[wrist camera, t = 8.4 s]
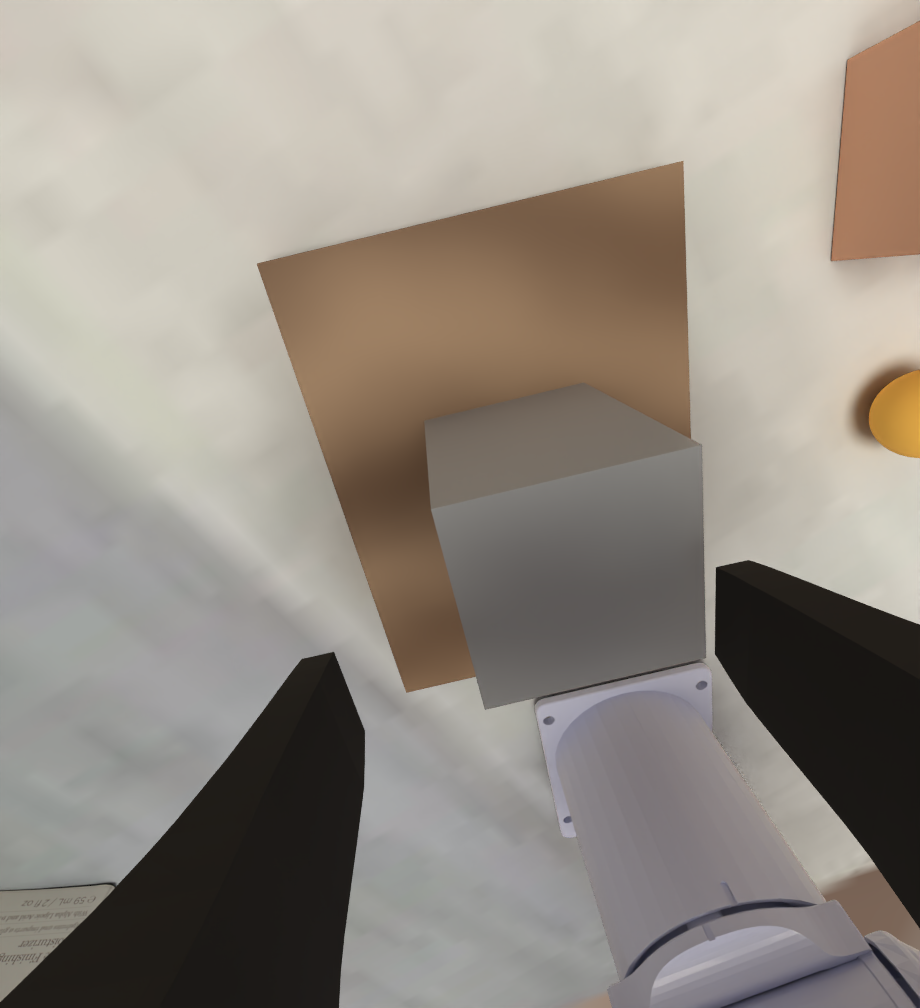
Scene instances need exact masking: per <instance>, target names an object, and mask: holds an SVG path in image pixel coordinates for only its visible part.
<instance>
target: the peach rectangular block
mask: <svg viewBox="0 0 920 1008" xmlns="http://www.w3.org/2000/svg"><path fill="white" fill-rule="evenodd" d="M916 254H920V21H919V22H917V23H915V24H913V25H911V26H909V27H907V28H906V29H904V30H902V31H900V32H898V33H896V34H894V35H893V36H891V37H889V38H887V39H885V40H883V41H881V42H880V43H878V44H876V45H874V46H872V47H870V48H868V49H867V50H865V51H863V52H861V53H859V54H857V55H855V56H854V57H852V58H850V59H848V61H847V73H846V86H845V98H844V110H843V123H842V135H841V147H840V159H839V172H838V184H837V196H836V208H835V221H834V233H833V245H832V257H831V261H837V260H850V259H863V258H876V257H889V256H903V255H916Z"/></svg>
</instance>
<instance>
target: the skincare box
mask: <svg viewBox="0 0 920 1008" xmlns="http://www.w3.org/2000/svg"><path fill="white" fill-rule="evenodd" d="M114 889H115V887H114V886H112V885H96V886H84V887H70V888H56V889H40V890H19V891H0V1002H1V1001H2V1000H3V999H4V998H5V997H6V996H7V995H8V994H9V993H10V992H11V991H12V990H13V989H14V988H15V987H16V986H17V985H18V984H19V983H20V982H21V981H22V980H23V979H24V978H25V977H26V976H27V975H28V974H29V973H31V972H32V971H33V970H34V969H35V968H36V967H37V966H38V965H39V964H40V963H41V962H42V961H43V960H44V959H45V958H46V957H47V956H48V955H49V954H50V953H51V952H52V951H53V950H54V949H55V948H56V947H57V946H58V945H59V944H60V943H61V942H62V941H63V940H64V939H65V938H66V937H67V936H68V935H69V934H70V933H71V932H72V931H73V930H74V929H75V928H76V927H77V926H78V925H79V924H80V923H81V922H82V921H84V920H85V919H86V918H87V917H88V916H89V915H90V914H91V913H92V912H93V911H94V910H95V909H96V907H97V906H98V905H99V904H100V903H101V902H102V901H103V900H104V899H105V898H106V897H107V896H108V895H109V894H110V893H111V892H112V891H113V890H114Z"/></svg>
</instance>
